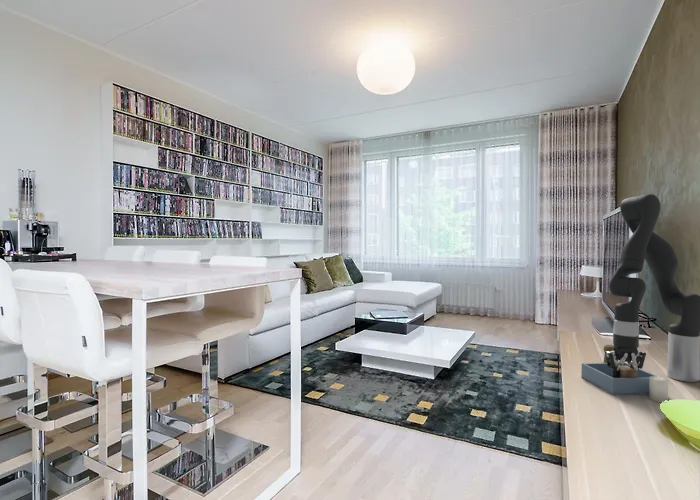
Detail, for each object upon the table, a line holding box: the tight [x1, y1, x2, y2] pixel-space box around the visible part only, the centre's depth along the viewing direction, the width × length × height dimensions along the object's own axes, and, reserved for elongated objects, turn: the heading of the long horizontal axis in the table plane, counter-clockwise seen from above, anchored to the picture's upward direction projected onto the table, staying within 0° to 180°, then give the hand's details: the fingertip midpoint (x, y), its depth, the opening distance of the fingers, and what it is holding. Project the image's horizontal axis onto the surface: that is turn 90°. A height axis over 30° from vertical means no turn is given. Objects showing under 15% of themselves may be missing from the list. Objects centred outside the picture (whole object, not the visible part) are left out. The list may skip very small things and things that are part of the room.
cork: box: [602, 344, 615, 363], centre depth 157 cm, size 6×6×11 cm
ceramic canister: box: [648, 375, 669, 403], centre depth 131 cm, size 5×5×7 cm
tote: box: [581, 362, 657, 396], centre depth 143 cm, size 18×17×6 cm
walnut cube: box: [620, 366, 637, 378], centre depth 139 cm, size 5×5×5 cm
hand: (624, 379), depth 139 cm, fingers closed on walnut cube, 5 cm apart
